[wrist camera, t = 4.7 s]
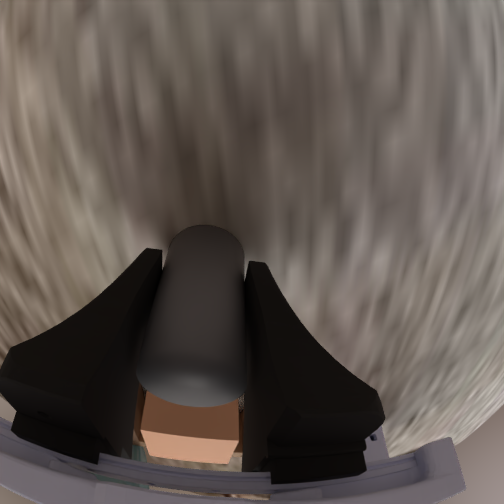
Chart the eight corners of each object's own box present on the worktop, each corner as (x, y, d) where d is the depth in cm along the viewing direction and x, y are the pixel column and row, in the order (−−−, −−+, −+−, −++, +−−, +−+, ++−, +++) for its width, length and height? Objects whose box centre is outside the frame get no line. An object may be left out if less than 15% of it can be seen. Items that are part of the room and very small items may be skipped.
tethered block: (272, 233, 12) (291, 359, 8) (227, 400, 20) (227, 477, 16) (148, 217, 12) (97, 335, 7) (158, 392, 20) (148, 468, 15)
